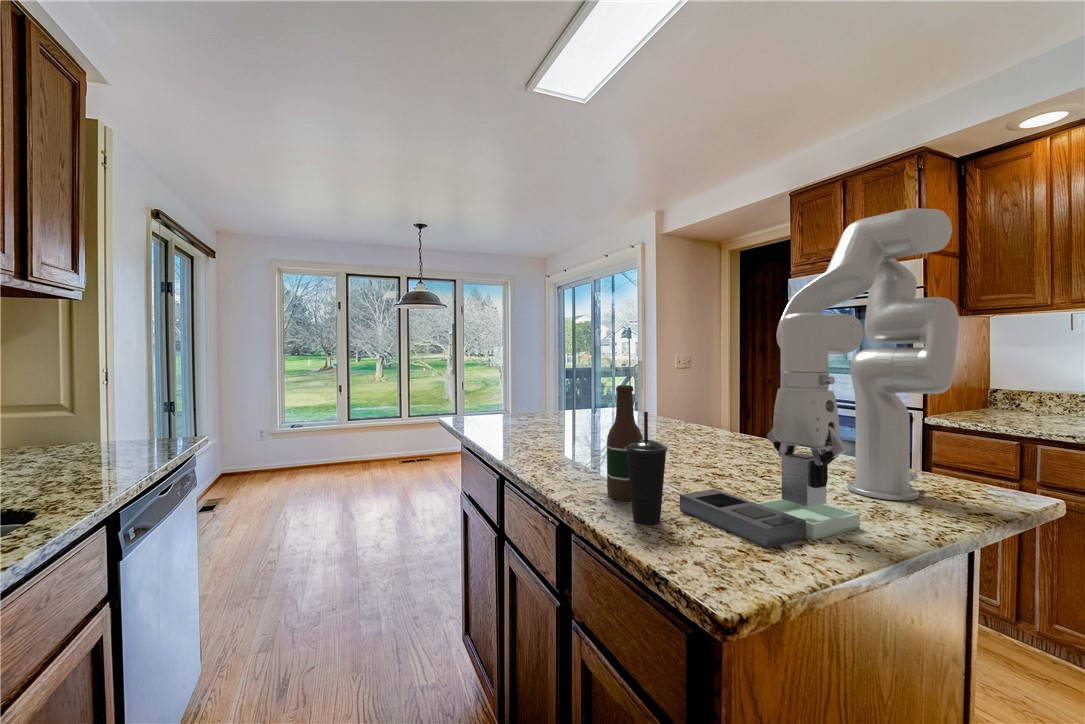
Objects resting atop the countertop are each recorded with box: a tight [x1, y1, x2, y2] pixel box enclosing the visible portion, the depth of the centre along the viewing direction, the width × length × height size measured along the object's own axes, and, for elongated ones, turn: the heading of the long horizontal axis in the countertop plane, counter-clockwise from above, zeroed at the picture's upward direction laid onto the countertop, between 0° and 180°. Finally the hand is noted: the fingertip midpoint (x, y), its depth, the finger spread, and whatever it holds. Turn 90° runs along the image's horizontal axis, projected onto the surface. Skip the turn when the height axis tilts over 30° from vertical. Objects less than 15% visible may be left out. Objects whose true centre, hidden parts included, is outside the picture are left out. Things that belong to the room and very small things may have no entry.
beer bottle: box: [606, 384, 644, 502], centre depth 99 cm, size 8×8×24 cm
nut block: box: [781, 452, 827, 507], centre depth 83 cm, size 5×5×8 cm
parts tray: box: [756, 497, 861, 541], centre depth 83 cm, size 12×12×2 cm
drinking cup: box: [625, 411, 669, 526], centre depth 84 cm, size 8×8×20 cm
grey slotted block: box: [679, 488, 807, 549], centre depth 83 cm, size 9×20×3 cm, turn 24°
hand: (803, 481), depth 83 cm, fingers closed on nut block, 5 cm apart
